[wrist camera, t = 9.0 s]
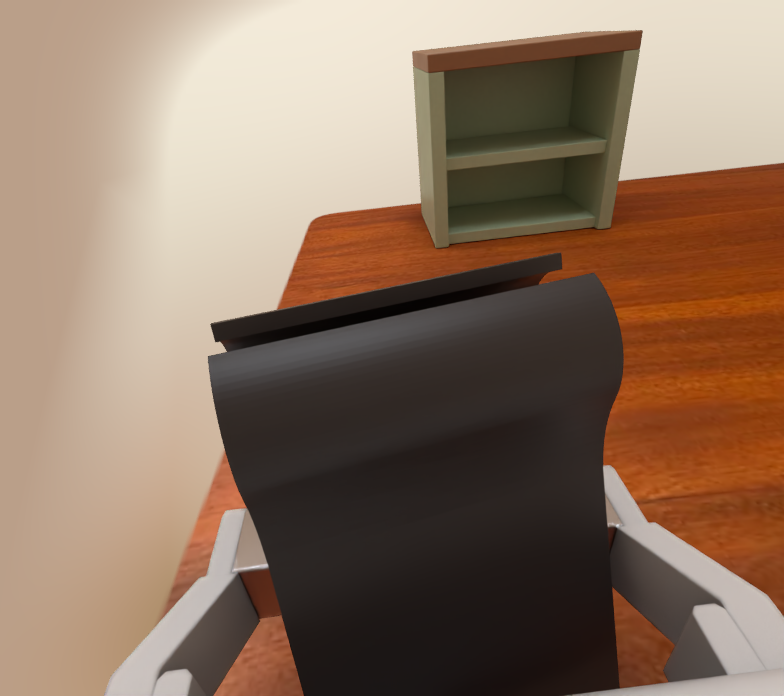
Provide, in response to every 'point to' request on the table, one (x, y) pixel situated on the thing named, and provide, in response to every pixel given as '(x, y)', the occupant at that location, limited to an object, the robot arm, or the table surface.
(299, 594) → the phone stand
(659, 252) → the table surface
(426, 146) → the shelf
